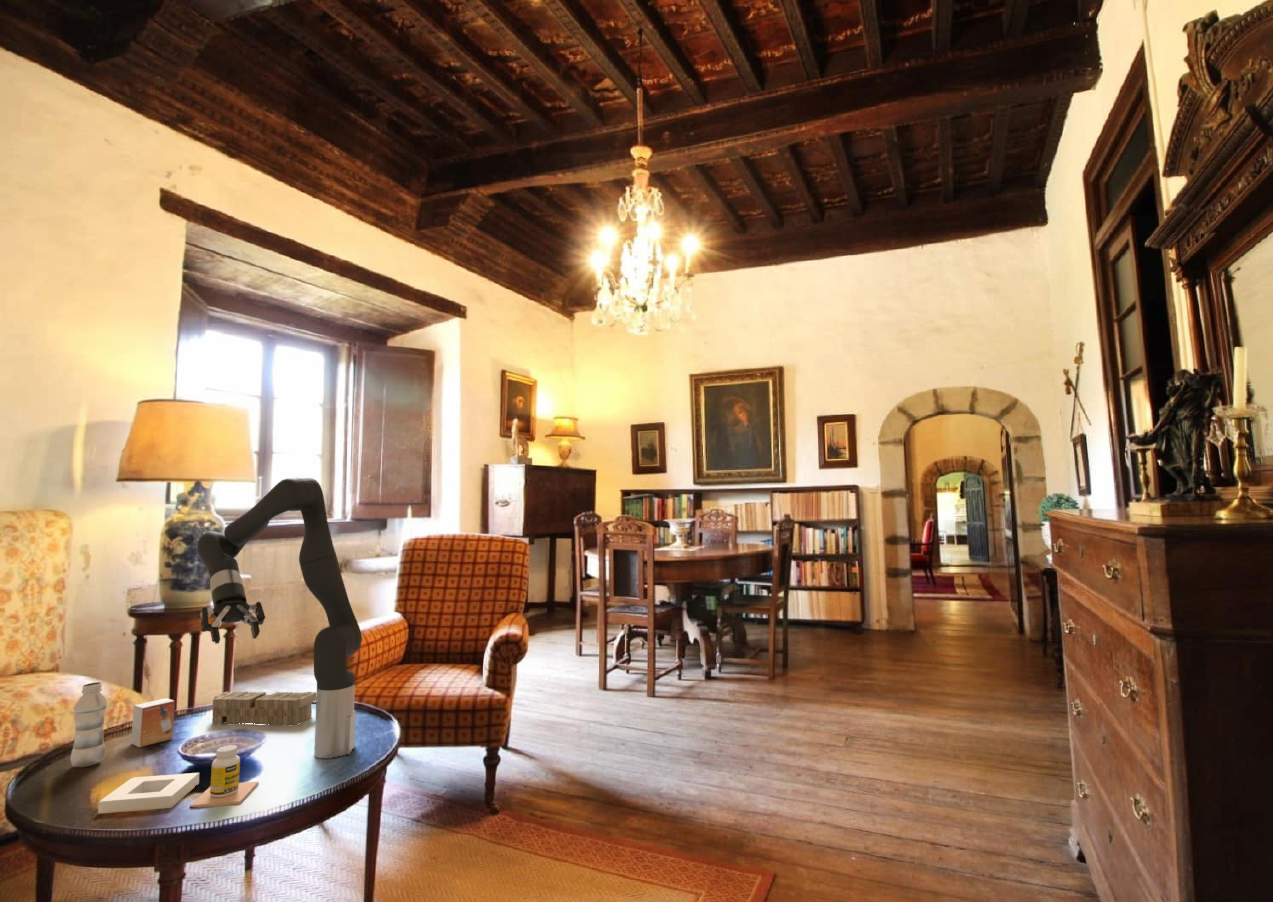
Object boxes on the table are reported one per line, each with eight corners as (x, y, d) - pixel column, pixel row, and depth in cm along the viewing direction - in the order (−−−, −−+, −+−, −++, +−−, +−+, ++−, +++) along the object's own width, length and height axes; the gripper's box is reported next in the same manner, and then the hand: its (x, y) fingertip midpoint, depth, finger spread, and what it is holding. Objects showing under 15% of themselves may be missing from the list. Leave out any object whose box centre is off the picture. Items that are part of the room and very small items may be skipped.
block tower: (207, 728, 189) (301, 726, 187) (207, 699, 190) (301, 697, 188) (225, 718, 197) (316, 717, 195) (226, 691, 197) (316, 689, 196)
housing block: (198, 783, 149) (199, 772, 149) (171, 807, 137) (172, 795, 137) (131, 788, 146) (132, 777, 147) (98, 813, 135) (98, 801, 135)
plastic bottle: (106, 764, 160) (111, 683, 161) (70, 773, 155) (76, 689, 156) (102, 757, 164) (107, 679, 166) (67, 765, 159) (73, 684, 161)
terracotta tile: (258, 783, 149) (258, 781, 149) (240, 803, 139) (240, 801, 139) (211, 787, 147) (211, 784, 147) (189, 808, 137) (189, 805, 137)
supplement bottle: (224, 799, 140) (226, 753, 140) (203, 797, 141) (206, 751, 141) (244, 788, 145) (246, 744, 146) (224, 786, 146) (226, 742, 147)
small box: (139, 748, 171) (141, 708, 171) (130, 744, 174) (132, 704, 174) (173, 738, 177) (175, 700, 178) (164, 734, 180) (166, 697, 181)
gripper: (199, 583, 167) (207, 634, 158) (260, 579, 177) (271, 626, 168) (193, 602, 170) (201, 652, 161) (253, 596, 180) (264, 643, 171)
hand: (237, 639), depth 164 cm, fingers open, 8 cm apart
